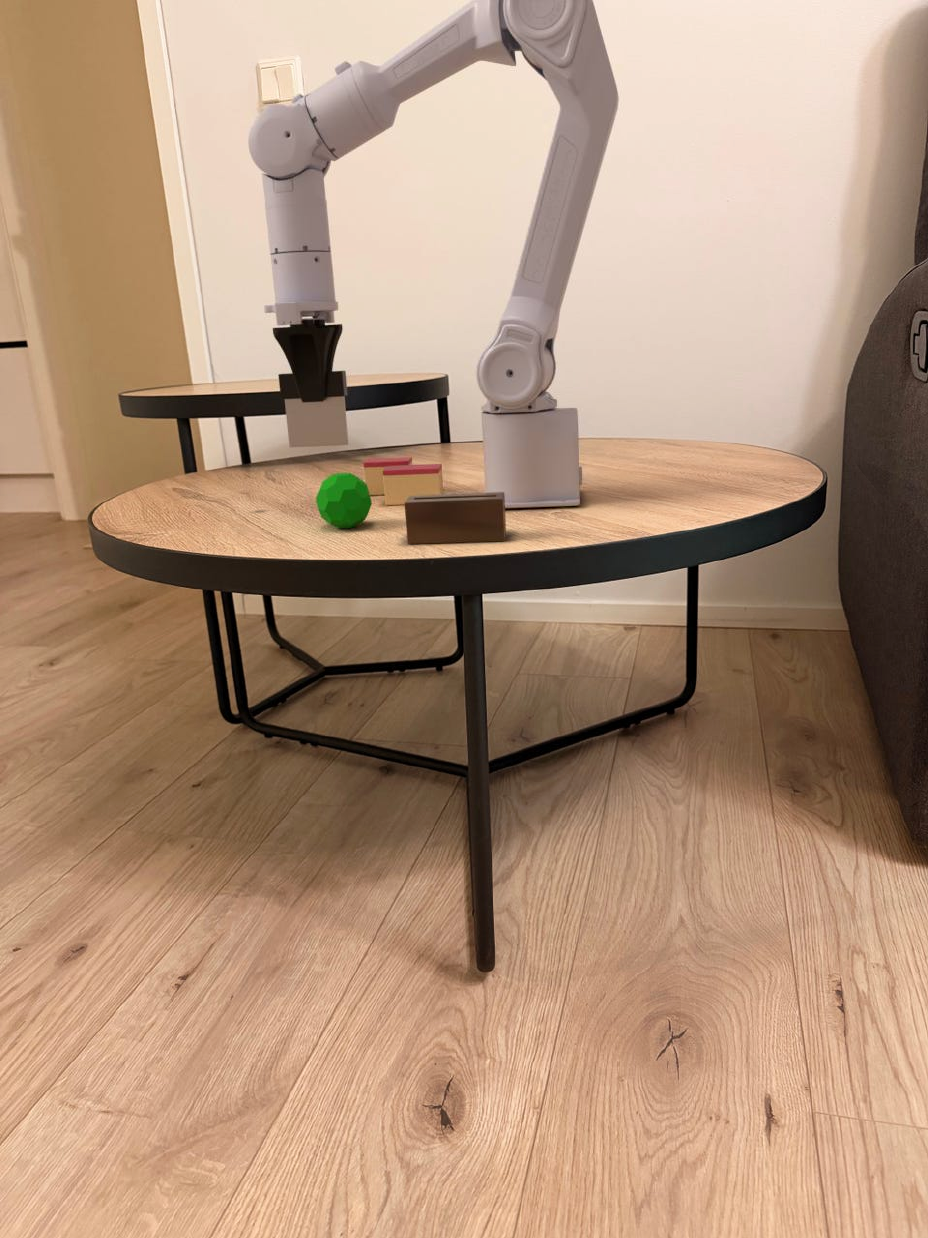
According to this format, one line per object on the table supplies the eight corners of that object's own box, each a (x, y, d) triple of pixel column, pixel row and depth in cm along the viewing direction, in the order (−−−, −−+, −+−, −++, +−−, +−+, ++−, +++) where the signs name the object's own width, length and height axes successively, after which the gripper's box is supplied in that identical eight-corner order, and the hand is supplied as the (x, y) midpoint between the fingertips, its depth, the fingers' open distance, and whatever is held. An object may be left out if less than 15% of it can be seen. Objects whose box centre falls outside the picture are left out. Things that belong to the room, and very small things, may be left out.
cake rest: (443, 497, 95) (441, 463, 94) (440, 503, 92) (438, 468, 91) (390, 499, 95) (387, 465, 94) (385, 505, 92) (382, 470, 91)
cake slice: (414, 489, 100) (411, 456, 99) (410, 493, 98) (408, 460, 97) (371, 490, 101) (368, 458, 100) (366, 495, 98) (363, 462, 97)
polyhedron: (310, 532, 82) (304, 479, 80) (330, 520, 86) (325, 470, 85) (363, 532, 81) (358, 478, 79) (381, 520, 85) (376, 469, 84)
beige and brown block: (351, 443, 93) (345, 370, 91) (348, 445, 91) (342, 370, 89) (290, 446, 94) (282, 373, 92) (285, 448, 92) (278, 374, 90)
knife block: (506, 532, 78) (504, 491, 77) (504, 541, 75) (502, 498, 74) (412, 535, 78) (409, 495, 77) (407, 544, 76) (404, 502, 75)
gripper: (281, 260, 94) (295, 396, 99) (235, 251, 81) (254, 409, 85) (348, 256, 94) (360, 393, 98) (313, 246, 80) (329, 406, 84)
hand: (315, 400), depth 91 cm, fingers closed on beige and brown block, 1 cm apart
